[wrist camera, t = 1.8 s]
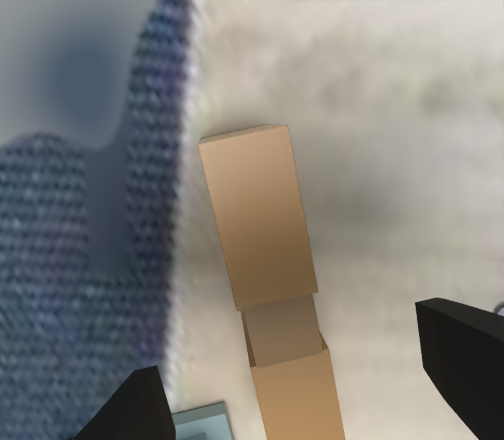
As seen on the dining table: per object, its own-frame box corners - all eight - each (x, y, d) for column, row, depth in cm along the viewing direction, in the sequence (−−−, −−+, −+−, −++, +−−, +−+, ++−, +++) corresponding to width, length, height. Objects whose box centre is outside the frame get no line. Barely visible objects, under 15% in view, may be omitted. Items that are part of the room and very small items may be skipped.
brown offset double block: (265, 124, 17) (287, 125, 12) (318, 392, 20) (352, 478, 15) (201, 138, 17) (197, 144, 12) (263, 405, 20) (280, 497, 15)
